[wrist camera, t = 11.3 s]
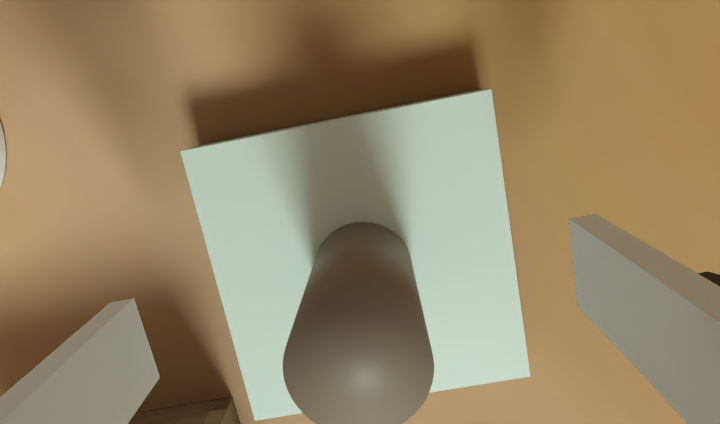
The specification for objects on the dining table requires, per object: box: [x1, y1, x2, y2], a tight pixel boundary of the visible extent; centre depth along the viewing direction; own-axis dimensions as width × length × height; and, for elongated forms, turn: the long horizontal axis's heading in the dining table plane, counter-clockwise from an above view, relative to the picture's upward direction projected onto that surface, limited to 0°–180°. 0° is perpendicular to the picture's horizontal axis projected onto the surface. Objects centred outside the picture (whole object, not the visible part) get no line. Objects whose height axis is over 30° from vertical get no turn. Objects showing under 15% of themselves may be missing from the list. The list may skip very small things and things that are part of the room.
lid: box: [180, 89, 530, 424], centre depth 16 cm, size 11×11×8 cm
